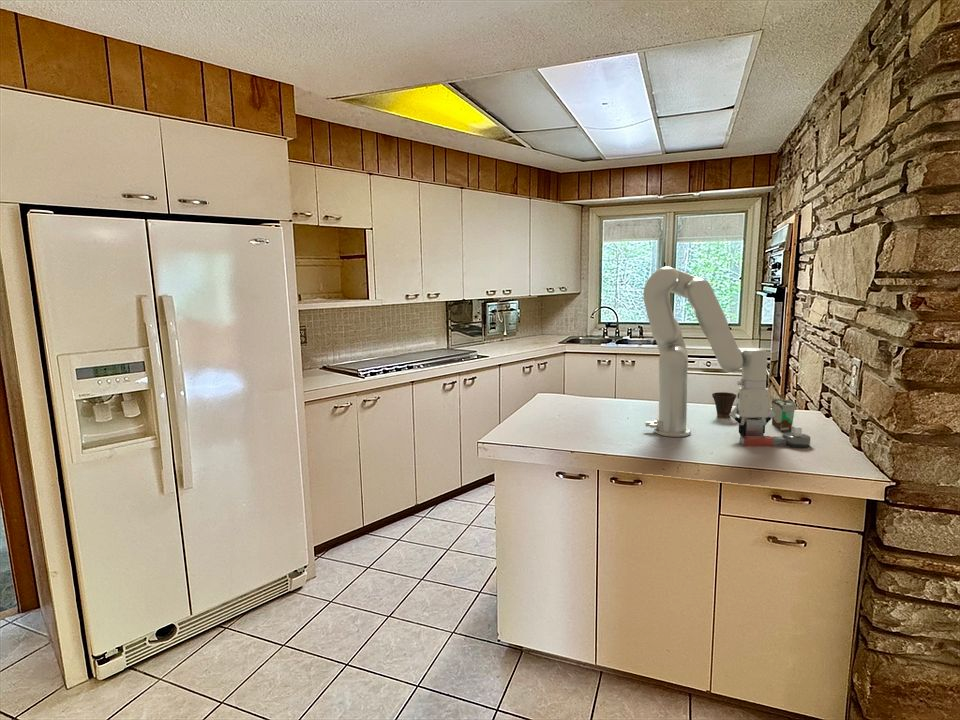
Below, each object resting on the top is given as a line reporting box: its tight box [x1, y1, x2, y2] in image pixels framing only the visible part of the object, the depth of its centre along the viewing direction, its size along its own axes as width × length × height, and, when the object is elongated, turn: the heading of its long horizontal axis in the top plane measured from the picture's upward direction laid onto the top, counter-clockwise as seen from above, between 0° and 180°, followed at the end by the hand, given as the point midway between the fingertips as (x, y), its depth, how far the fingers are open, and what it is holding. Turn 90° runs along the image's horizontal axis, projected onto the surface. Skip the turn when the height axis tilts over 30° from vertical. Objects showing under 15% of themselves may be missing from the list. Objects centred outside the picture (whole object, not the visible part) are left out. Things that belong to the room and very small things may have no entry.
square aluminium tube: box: [739, 418, 764, 437], centre depth 185 cm, size 5×5×7 cm
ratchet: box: [740, 425, 811, 450], centre depth 177 cm, size 21×8×6 cm, turn 84°
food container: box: [771, 398, 797, 433], centre depth 194 cm, size 12×6×10 cm, turn 168°
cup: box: [711, 391, 738, 419], centre depth 212 cm, size 9×9×10 cm
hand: (751, 434), depth 186 cm, fingers closed on square aluminium tube, 5 cm apart
